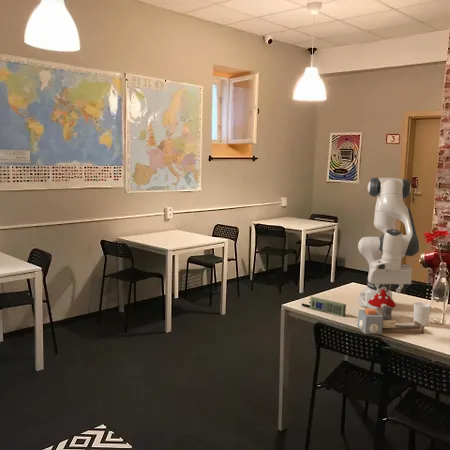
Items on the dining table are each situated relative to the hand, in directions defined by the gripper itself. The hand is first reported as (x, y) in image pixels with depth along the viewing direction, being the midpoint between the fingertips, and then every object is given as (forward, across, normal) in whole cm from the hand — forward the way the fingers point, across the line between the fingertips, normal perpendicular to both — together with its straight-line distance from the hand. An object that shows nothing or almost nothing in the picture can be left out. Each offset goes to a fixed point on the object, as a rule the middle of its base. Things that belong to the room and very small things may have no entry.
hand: (388, 292), depth 231 cm
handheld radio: (+20, +23, -28) cm, 41 cm away
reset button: (+11, +8, +1) cm, 14 cm away
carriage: (+16, 0, +1) cm, 16 cm away
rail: (+18, -6, +1) cm, 20 cm away
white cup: (+19, -22, -9) cm, 31 cm away
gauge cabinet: (+18, +8, +1) cm, 20 cm away
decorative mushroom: (+19, -5, -18) cm, 27 cm away
